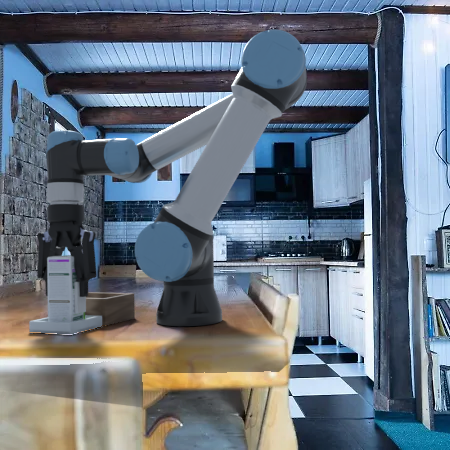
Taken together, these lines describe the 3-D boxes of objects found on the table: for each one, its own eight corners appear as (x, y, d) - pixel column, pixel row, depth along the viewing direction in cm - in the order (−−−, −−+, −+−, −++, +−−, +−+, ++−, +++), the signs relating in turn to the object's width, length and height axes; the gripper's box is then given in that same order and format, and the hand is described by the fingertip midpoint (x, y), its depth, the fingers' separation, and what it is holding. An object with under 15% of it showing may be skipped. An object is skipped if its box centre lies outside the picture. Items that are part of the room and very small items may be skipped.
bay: (134, 318, 121) (134, 293, 122) (105, 326, 110) (105, 298, 111) (86, 315, 127) (86, 292, 127) (54, 323, 116) (54, 297, 116)
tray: (102, 327, 109) (102, 315, 109) (70, 335, 99) (70, 323, 100) (63, 325, 113) (63, 313, 113) (29, 333, 103) (29, 321, 103)
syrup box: (71, 326, 103) (72, 256, 103) (46, 325, 104) (46, 255, 105) (85, 321, 108) (86, 254, 109) (61, 320, 110) (61, 254, 110)
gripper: (113, 203, 107) (115, 311, 106) (42, 207, 114) (43, 308, 114) (92, 200, 100) (93, 316, 99) (17, 205, 107) (18, 312, 107)
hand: (66, 311), depth 106 cm, fingers open, 6 cm apart
